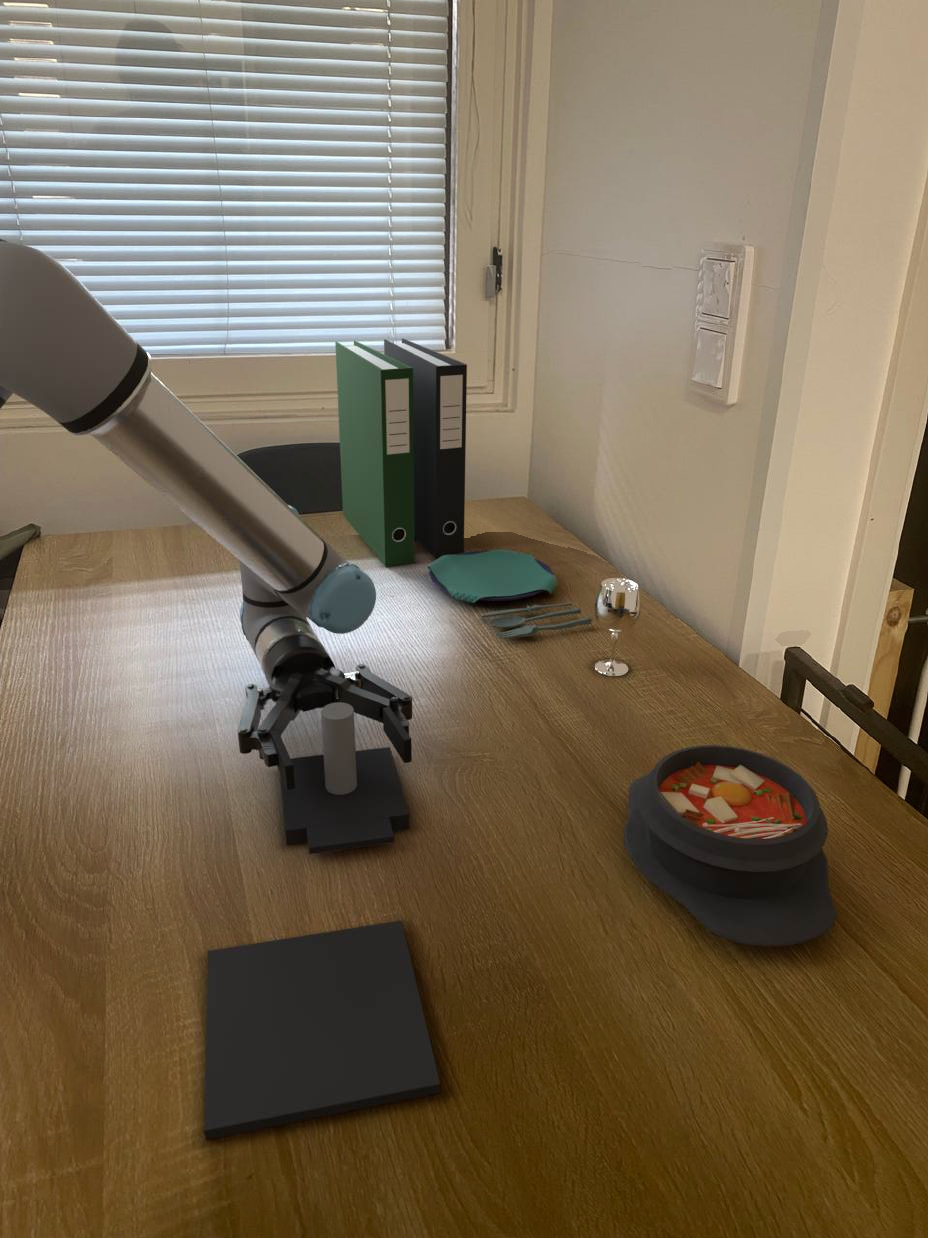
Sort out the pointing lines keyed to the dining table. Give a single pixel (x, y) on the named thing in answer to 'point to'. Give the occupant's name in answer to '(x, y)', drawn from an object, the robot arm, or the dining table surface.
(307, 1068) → the black pad
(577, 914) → the dining table surface
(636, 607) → the wineglass
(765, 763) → the casserole
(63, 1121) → the dining table surface
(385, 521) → the binder
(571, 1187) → the dining table surface
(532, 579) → the cutlery set
